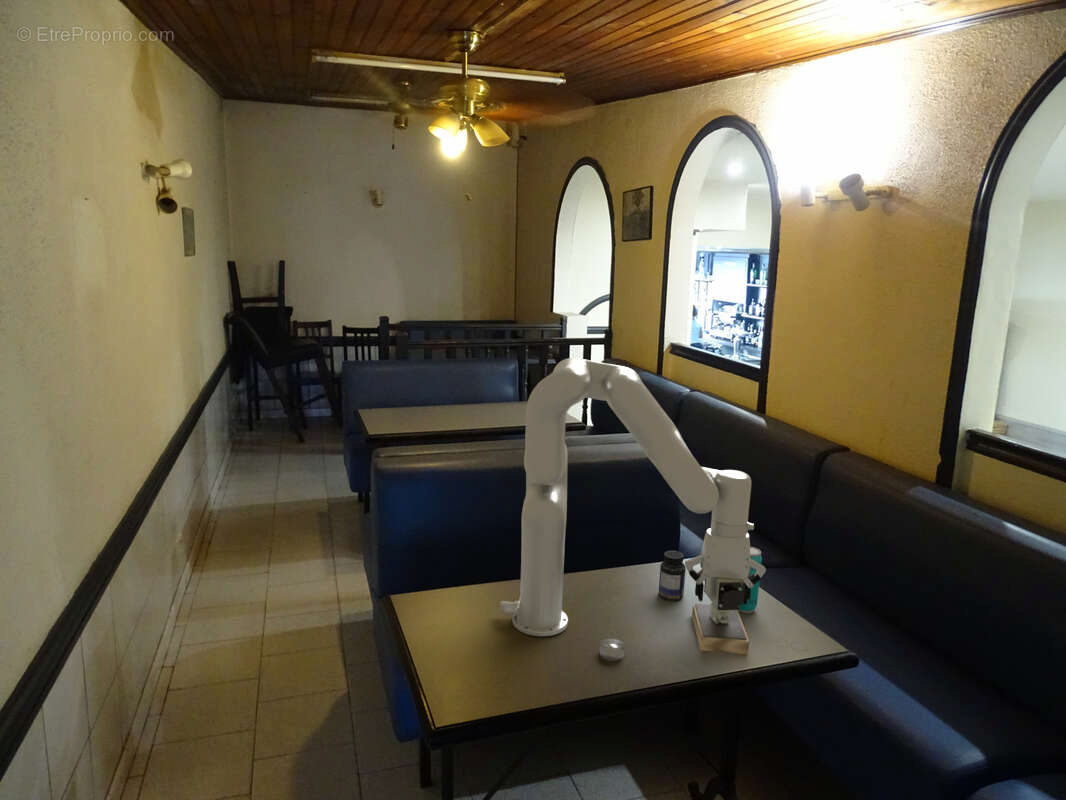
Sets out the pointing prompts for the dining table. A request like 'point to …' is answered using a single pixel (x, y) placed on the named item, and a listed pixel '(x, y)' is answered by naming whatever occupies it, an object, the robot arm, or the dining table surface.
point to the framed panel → (719, 631)
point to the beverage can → (752, 602)
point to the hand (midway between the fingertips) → (721, 600)
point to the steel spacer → (611, 649)
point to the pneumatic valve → (723, 597)
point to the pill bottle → (672, 576)
